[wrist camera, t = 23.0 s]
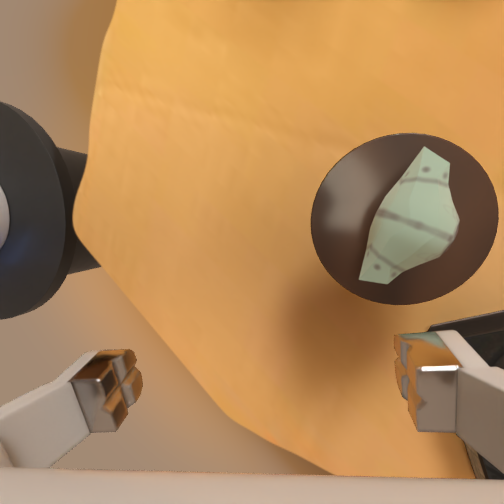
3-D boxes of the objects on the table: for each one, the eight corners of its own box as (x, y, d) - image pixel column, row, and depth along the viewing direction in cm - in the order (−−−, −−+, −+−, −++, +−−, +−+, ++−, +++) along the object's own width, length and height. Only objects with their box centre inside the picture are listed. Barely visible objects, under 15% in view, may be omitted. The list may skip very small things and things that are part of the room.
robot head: (395, 157, 21) (421, 132, 14) (457, 178, 20) (514, 161, 13) (345, 262, 22) (348, 282, 16) (400, 285, 22) (426, 316, 15)
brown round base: (326, 282, 33) (321, 310, 23) (311, 171, 32) (300, 153, 22) (452, 271, 30) (506, 298, 20) (440, 146, 29) (491, 112, 19)
